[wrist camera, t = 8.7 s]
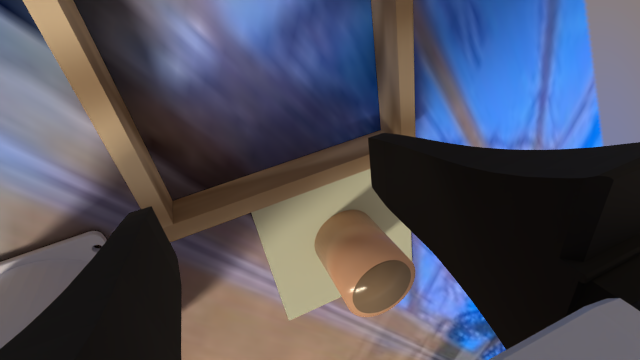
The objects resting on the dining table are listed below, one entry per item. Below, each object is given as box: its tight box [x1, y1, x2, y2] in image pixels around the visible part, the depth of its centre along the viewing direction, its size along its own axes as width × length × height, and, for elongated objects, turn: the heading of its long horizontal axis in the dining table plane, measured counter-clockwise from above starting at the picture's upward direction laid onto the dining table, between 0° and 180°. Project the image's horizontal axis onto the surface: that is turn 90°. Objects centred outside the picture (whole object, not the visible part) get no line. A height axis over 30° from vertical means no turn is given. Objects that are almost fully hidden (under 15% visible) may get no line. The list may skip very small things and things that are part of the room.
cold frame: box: [23, 0, 415, 242], centre depth 16 cm, size 16×16×5 cm
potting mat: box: [251, 169, 412, 321], centre depth 26 cm, size 12×12×1 cm
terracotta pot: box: [314, 210, 415, 317], centre depth 24 cm, size 5×5×6 cm
